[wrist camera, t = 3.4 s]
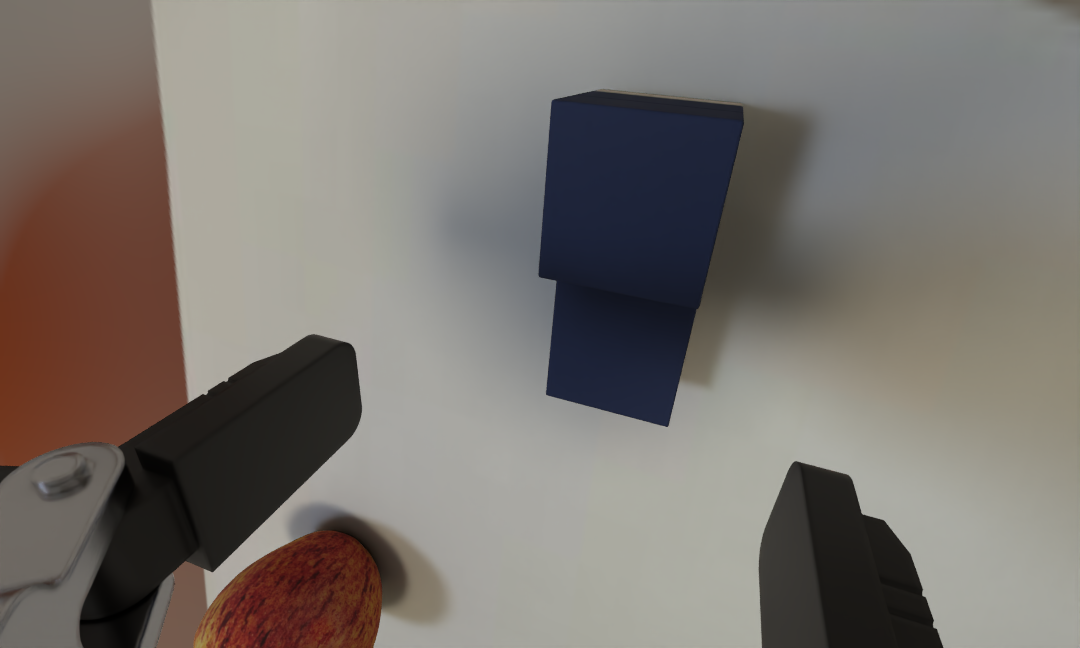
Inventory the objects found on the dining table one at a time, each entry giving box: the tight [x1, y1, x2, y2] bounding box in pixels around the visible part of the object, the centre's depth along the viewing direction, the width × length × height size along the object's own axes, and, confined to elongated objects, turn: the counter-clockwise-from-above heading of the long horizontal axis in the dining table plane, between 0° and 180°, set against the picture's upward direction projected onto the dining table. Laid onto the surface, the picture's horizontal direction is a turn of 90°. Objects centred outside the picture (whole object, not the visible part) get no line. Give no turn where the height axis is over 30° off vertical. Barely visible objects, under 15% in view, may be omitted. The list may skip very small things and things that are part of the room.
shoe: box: [539, 89, 744, 427], centre depth 16 cm, size 10×4×5 cm, turn 175°
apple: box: [194, 530, 382, 648], centre depth 29 cm, size 9×9×10 cm
